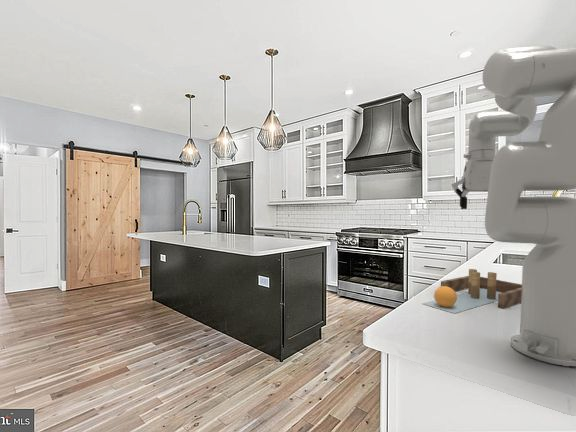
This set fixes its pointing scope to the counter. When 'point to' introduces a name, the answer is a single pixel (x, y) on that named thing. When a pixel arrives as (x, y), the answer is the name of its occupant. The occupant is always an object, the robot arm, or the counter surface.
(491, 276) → the pin right
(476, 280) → the pin front
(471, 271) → the pin left
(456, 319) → the counter surface
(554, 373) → the counter surface
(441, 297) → the ball
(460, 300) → the lane
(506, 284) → the fence
